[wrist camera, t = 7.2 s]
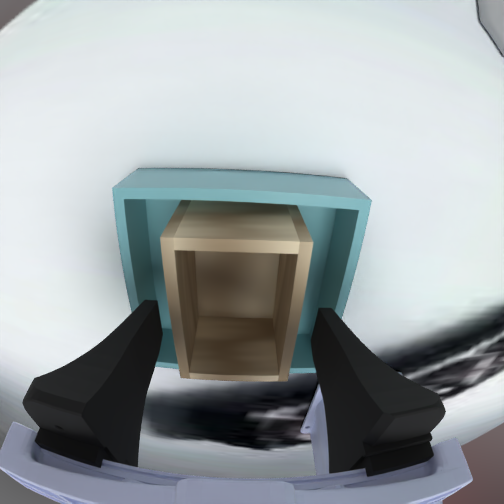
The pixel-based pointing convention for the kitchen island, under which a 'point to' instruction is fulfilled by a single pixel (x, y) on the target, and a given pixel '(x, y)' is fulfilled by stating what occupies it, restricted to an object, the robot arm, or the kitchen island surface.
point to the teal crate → (242, 190)
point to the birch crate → (235, 287)
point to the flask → (493, 20)
